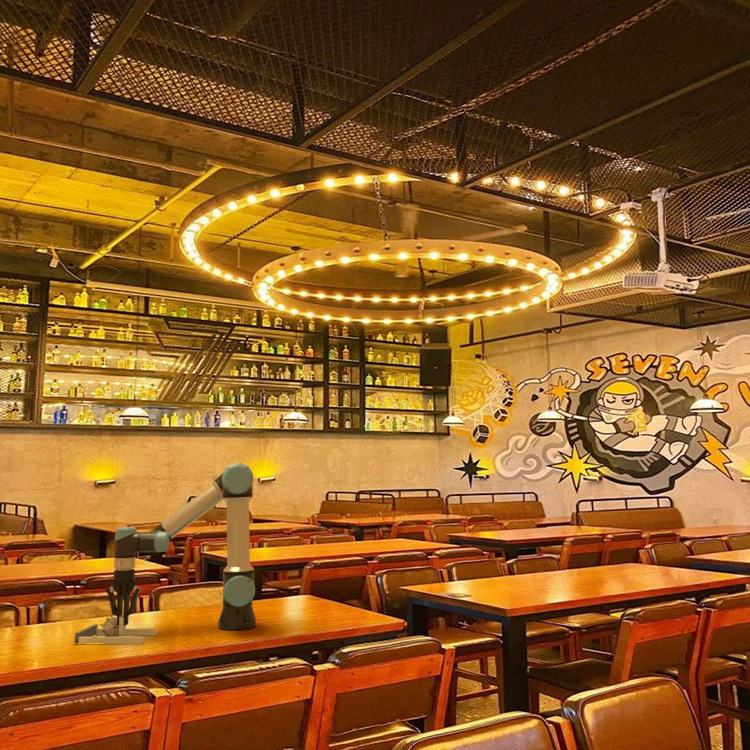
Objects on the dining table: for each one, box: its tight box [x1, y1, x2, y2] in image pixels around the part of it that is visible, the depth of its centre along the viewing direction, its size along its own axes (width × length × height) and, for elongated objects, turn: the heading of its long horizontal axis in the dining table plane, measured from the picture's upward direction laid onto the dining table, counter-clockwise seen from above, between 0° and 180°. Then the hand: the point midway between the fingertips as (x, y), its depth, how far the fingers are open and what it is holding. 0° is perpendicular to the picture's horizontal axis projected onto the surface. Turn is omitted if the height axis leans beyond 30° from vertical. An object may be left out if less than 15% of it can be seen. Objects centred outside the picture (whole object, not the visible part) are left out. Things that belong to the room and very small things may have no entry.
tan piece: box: [73, 623, 158, 645], centre depth 275 cm, size 25×16×4 cm, turn 87°
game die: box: [99, 614, 120, 637], centre depth 278 cm, size 9×8×10 cm
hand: (122, 634), depth 275 cm, fingers closed
